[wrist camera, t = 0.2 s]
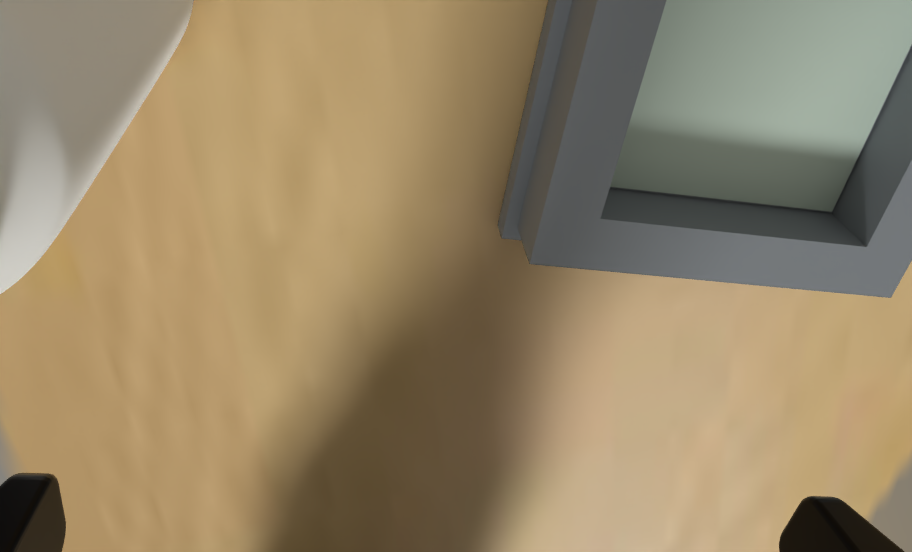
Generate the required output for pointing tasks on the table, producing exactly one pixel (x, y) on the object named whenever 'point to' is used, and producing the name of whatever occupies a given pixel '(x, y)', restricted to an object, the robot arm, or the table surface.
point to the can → (69, 105)
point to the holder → (720, 142)
